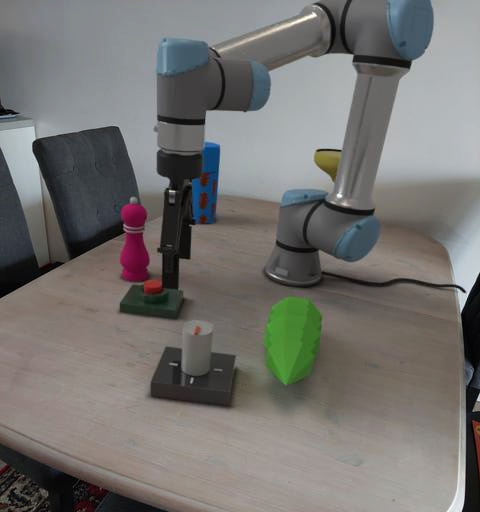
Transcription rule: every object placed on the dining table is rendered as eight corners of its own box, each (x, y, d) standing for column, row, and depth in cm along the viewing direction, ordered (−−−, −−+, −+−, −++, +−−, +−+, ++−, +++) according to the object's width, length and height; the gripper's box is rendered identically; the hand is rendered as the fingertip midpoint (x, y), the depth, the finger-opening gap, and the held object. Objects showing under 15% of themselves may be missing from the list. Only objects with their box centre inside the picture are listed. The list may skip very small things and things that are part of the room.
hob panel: (234, 368, 87) (236, 354, 85) (228, 406, 77) (229, 391, 76) (165, 359, 87) (165, 345, 86) (150, 396, 78) (150, 380, 76)
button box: (183, 298, 110) (183, 283, 108) (174, 319, 101) (175, 302, 99) (132, 292, 110) (132, 277, 108) (119, 312, 101) (119, 295, 99)
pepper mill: (143, 284, 114) (142, 203, 105) (115, 279, 115) (112, 198, 106) (153, 273, 121) (154, 195, 111) (127, 268, 122) (125, 191, 112)
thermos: (184, 213, 168) (187, 140, 156) (214, 215, 169) (219, 142, 157) (184, 223, 159) (187, 145, 147) (215, 225, 160) (221, 148, 148)
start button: (163, 288, 105) (163, 281, 105) (159, 295, 102) (159, 288, 101) (146, 286, 106) (146, 279, 105) (141, 293, 102) (141, 286, 101)
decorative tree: (317, 278, 97) (312, 349, 70) (328, 327, 101) (328, 411, 74) (264, 289, 100) (240, 361, 73) (277, 336, 104) (259, 420, 77)
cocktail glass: (304, 213, 183) (315, 146, 171) (350, 219, 181) (365, 152, 169) (303, 227, 167) (315, 154, 155) (354, 234, 166) (370, 161, 153)
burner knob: (183, 357, 83) (185, 316, 79) (211, 360, 83) (215, 320, 79) (178, 374, 79) (180, 331, 75) (208, 377, 79) (211, 335, 75)
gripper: (171, 136, 86) (169, 246, 96) (137, 162, 64) (140, 300, 75) (212, 141, 86) (205, 250, 96) (192, 168, 64) (187, 305, 74)
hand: (177, 272), depth 85 cm, fingers open, 13 cm apart
